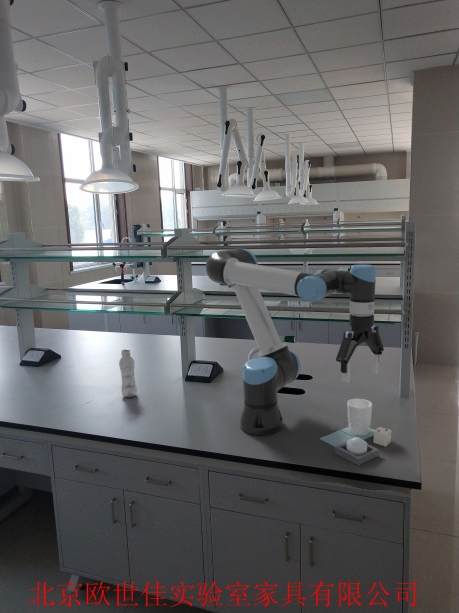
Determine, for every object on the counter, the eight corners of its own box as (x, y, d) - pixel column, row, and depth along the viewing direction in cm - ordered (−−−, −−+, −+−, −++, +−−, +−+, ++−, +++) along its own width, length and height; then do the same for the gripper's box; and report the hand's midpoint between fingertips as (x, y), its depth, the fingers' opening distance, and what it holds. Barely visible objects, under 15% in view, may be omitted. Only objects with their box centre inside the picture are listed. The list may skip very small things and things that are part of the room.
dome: (342, 451, 136) (342, 437, 135) (355, 445, 139) (355, 431, 138) (357, 459, 131) (358, 445, 130) (371, 453, 134) (371, 438, 133)
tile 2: (340, 430, 150) (340, 429, 150) (358, 423, 155) (358, 422, 155) (361, 441, 143) (361, 440, 143) (379, 432, 147) (379, 432, 147)
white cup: (366, 425, 152) (367, 397, 151) (375, 436, 145) (375, 407, 143) (343, 426, 152) (344, 399, 150) (351, 437, 144) (351, 408, 143)
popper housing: (335, 452, 136) (335, 446, 136) (355, 443, 141) (355, 438, 141) (358, 465, 129) (358, 459, 128) (378, 455, 134) (378, 449, 133)
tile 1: (319, 439, 145) (319, 438, 145) (339, 431, 150) (339, 430, 150) (340, 450, 138) (340, 449, 137) (360, 441, 142) (360, 440, 142)
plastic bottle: (122, 400, 184) (117, 353, 180) (121, 394, 190) (117, 349, 186) (138, 398, 185) (134, 352, 181) (136, 392, 192) (133, 347, 188)
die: (373, 442, 141) (373, 430, 140) (378, 438, 144) (379, 426, 143) (385, 446, 139) (386, 434, 138) (390, 441, 141) (391, 429, 141)
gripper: (343, 322, 131) (342, 389, 135) (396, 310, 145) (393, 372, 149) (325, 317, 137) (324, 382, 142) (377, 306, 151) (375, 366, 155)
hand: (359, 377), depth 145 cm, fingers open, 13 cm apart
